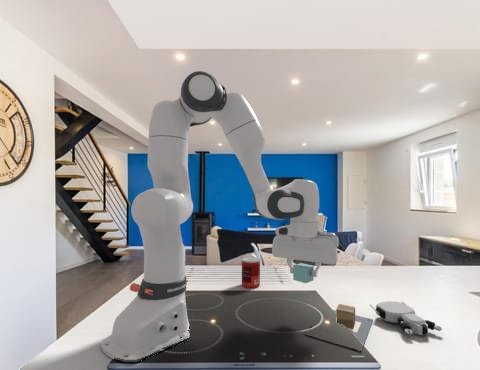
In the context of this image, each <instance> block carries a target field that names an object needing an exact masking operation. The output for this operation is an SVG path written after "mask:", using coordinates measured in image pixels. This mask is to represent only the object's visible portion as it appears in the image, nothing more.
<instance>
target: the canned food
mask: <svg viewBox="0 0 480 370" xmlns="http://www.w3.org/2000/svg"><path fill="white" fill-rule="evenodd" d="M260 283H261V259H260V258H259V257H255V256H253V257H252V256H249V257H248V256H247V257H243V258H242V259H241V285H242V287H243V288H245V289H249V288H250V289H252V288H253V289H257V288H259V287H260ZM250 289H249V290H250Z"/></svg>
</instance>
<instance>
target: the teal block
mask: <svg viewBox="0 0 480 370" xmlns="http://www.w3.org/2000/svg"><path fill="white" fill-rule="evenodd" d="M314 266H315V265H311V264H307V263H303V262H300V263H297V264H293V273H292V275H293V276H292V279H293V281H296V282H300V283H303V284H308V283H310V282H312V281H313V282H314V278H315V277H312V276H311V274H312V273H311V271H312V270H315V269H314V268H315V267H314Z"/></svg>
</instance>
